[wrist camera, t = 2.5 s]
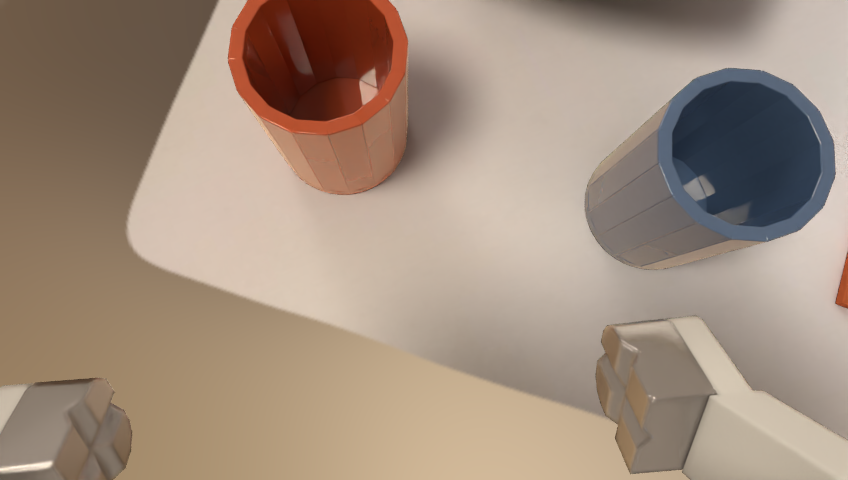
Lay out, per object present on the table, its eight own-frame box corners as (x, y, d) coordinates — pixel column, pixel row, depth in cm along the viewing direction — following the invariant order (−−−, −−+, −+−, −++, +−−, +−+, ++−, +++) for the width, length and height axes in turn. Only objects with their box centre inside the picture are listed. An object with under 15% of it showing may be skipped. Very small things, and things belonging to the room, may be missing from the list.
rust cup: (424, 172, 33) (430, 103, 24) (302, 211, 33) (256, 157, 23) (384, 59, 34) (375, -52, 25) (265, 95, 34) (207, -4, 24)
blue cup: (729, 246, 33) (865, 207, 23) (611, 286, 33) (700, 265, 23) (680, 130, 34) (790, 46, 24) (565, 167, 34) (631, 97, 24)
